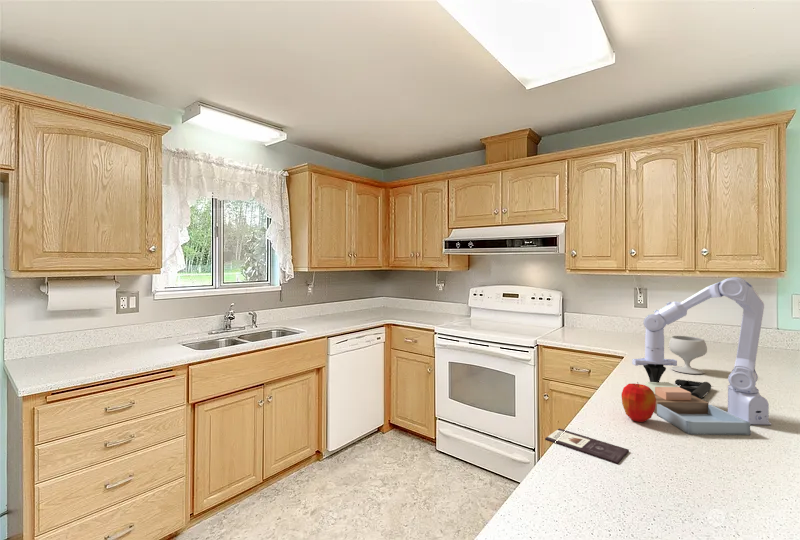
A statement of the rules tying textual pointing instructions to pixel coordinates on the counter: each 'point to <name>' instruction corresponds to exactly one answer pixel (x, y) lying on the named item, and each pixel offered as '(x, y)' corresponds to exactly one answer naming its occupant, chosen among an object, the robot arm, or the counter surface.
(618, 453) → the chocolate bar
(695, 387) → the black toy gun
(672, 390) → the tile front
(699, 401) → the walnut board
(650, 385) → the tile rear
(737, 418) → the box
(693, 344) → the chalice
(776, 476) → the counter surface
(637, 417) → the apple
